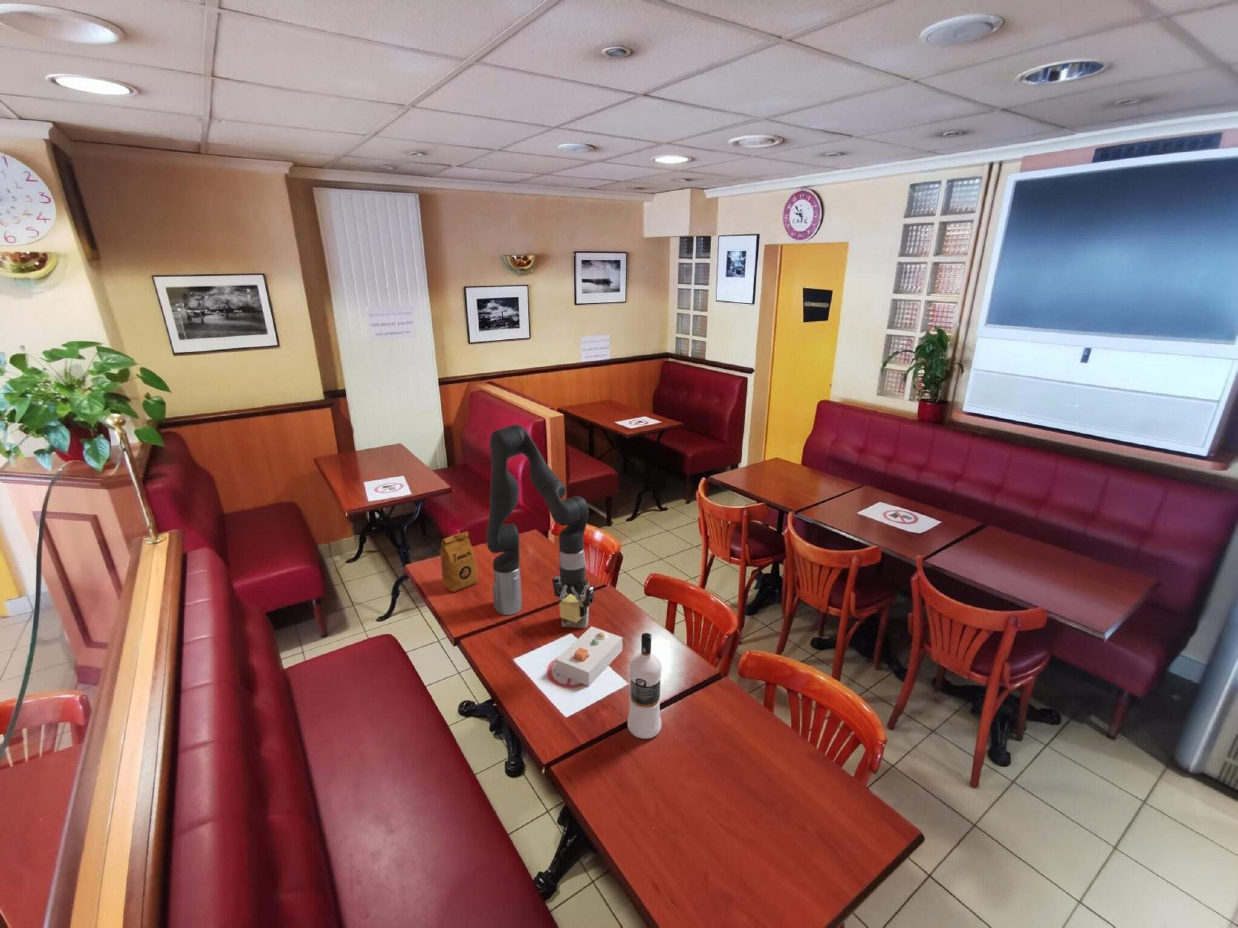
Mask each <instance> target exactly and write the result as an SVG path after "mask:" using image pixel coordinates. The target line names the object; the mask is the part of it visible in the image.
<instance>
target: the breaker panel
mask: <svg viewBox="0 0 1238 928" xmlns="http://www.w3.org/2000/svg"><path fill="white" fill-rule="evenodd" d="M580 647H581V648H583V649H586V650H588V658H587V659H586V660H585V661H584V662H581V661H579V660H576V659H575V652H576V651H577V650H578V649H579V648H580ZM622 651H623V637H622V636H619V635H617V634H614V633H612V632H608V631H605V630H603V629H601V628H598V627H594V626H590V627H589V628H588V629H587V630H586V631H584V633H582V634H581V636H579V637H578V638H577V639H576V640H575V641H574V642H573V643H572V644H571V645H570V646H569V647H568V648H567V649H566V650H565V651H563V652H562V653H561V654H560V655H559V656H558V657H557V658H555V666H556V674H558V675H560V676H563V677H565V678H568V679H570V680H573V681H575V682H577V683H580V684H581V685H582V684H583V685H585V686H587V687H590V686H591V685H592V684H593V683H594V682H595V681H596V680H597V678H598V677H600V675H602V673H603V672H605V670H606V669H607V668H608V667H609V666H610V664H612V662H613V661H614V660H615V659H616V658H617V657H618V656H619V655H620V653H622Z"/></svg>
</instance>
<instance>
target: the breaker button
mask: <svg viewBox="0 0 1238 928" xmlns="http://www.w3.org/2000/svg"><path fill="white" fill-rule="evenodd" d="M587 658H588V650H586V649H583V648H581V647H580V648H579V649H578V650H577V651H576V652H575V659H576V660H579V661H581V662H584V661H585V660H586V659H587Z"/></svg>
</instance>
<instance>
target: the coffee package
mask: <svg viewBox="0 0 1238 928" xmlns="http://www.w3.org/2000/svg"><path fill="white" fill-rule="evenodd" d="M440 545H441V546H440V565H441V573H442V574H441V575H442V581H443V582H442V583H443V586H444V587H445V588H446V589H448V590H449V591H450V592H452V593H453V592H454V593H455V592H456V591H458V590H461V589H464V588H467V587H471V586H473V585H476V584H477V583H478V581H479V575H478V565H477V559H476V556H475V552H474V549H473V546H472V544H471V541H470V538H469V531H464V532H460V533H457V534H453V535H449V536H448V537H445V538H443V539H442V540H441V544H440Z"/></svg>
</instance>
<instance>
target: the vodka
mask: <svg viewBox="0 0 1238 928" xmlns="http://www.w3.org/2000/svg"><path fill="white" fill-rule="evenodd" d="M640 637H641V638H640V639H641V641H640V642H641V644H640V645H641V646H640V647H641V648H640V651H641V653H638V654H636V655H635V656H634V657H633V658H632V659H631V661H630V664H629V677H630V682H629V683H630V687H629V688H630V691H629V692H630V693H629V694H630V695H629V698H628V699H629V713H628V716H627V728H628V730H629V732H630V734H631V735H632V736H635V738H638V739H642V740H643V739H645V740H647V739H652V738H654V737H656V736H657V735H658V734H659V733H660V731H661V729H662V718H661V709H660V708H661V707H660V704H661V681H662V680H661V679H662V663H661V661H660V659H659V658H658V657H657V656H656V655H654V654H652V634H651V633H649V632H643V633H642V634H641V636H640Z"/></svg>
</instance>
